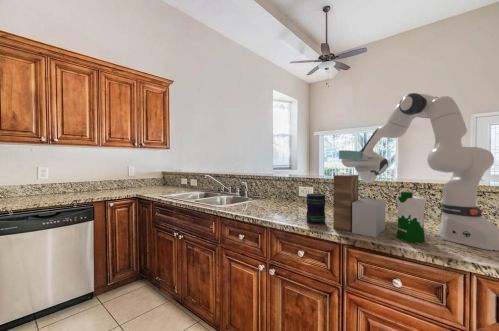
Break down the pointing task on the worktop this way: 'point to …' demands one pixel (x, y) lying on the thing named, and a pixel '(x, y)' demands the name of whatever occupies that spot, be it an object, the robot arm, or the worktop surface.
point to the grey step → (368, 217)
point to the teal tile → (350, 154)
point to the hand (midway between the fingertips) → (357, 154)
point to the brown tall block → (344, 200)
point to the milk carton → (410, 217)
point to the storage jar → (315, 209)
